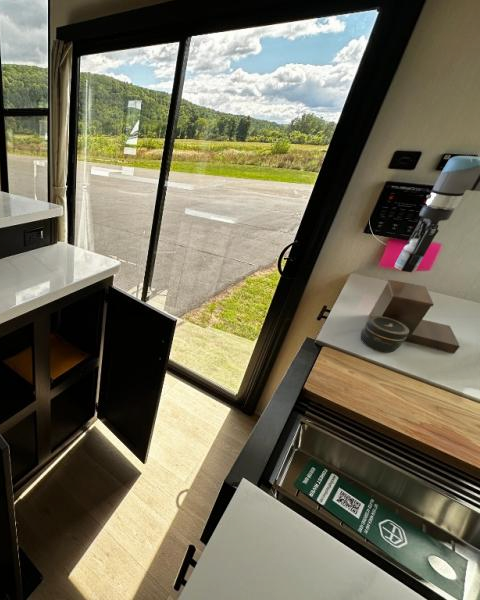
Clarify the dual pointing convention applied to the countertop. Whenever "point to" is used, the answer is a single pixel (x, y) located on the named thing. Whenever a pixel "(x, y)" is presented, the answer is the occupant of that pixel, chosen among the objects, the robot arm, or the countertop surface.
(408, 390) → the countertop surface
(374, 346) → the jar
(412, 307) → the step shelf
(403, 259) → the pill bottle
